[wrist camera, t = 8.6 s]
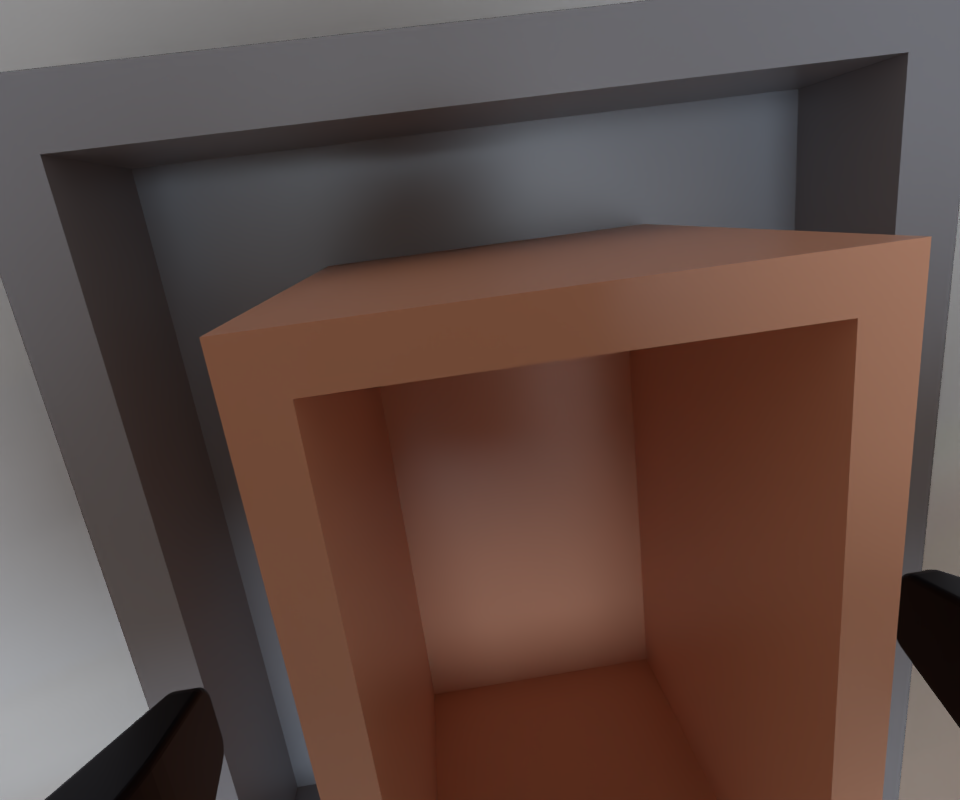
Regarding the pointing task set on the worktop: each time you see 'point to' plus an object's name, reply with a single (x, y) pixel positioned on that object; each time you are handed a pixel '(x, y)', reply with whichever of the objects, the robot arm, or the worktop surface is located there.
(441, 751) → the box
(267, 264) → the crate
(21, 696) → the worktop surface
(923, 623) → the robot arm
